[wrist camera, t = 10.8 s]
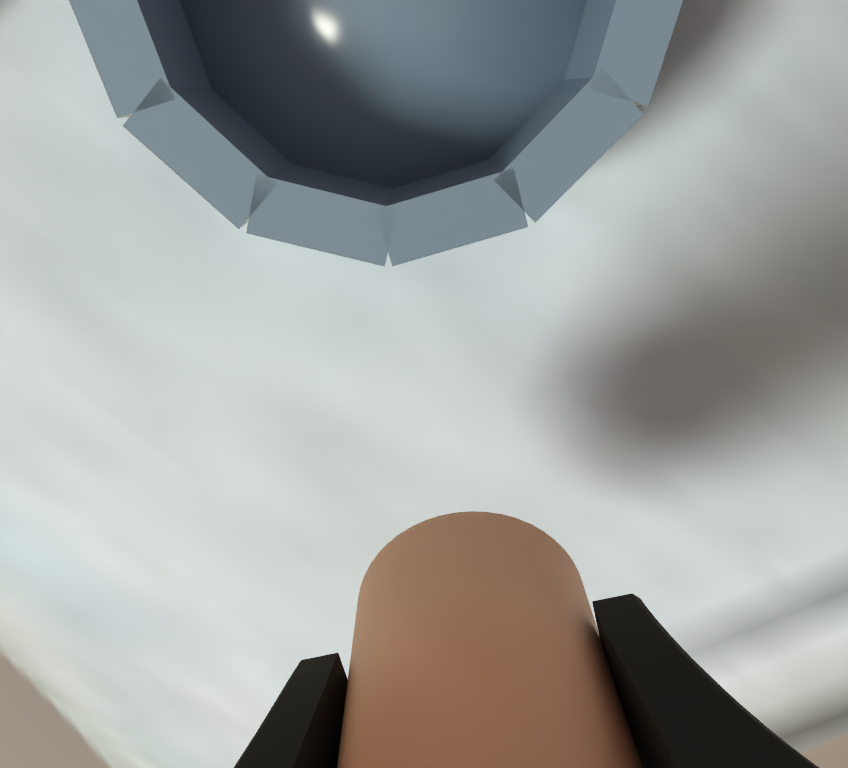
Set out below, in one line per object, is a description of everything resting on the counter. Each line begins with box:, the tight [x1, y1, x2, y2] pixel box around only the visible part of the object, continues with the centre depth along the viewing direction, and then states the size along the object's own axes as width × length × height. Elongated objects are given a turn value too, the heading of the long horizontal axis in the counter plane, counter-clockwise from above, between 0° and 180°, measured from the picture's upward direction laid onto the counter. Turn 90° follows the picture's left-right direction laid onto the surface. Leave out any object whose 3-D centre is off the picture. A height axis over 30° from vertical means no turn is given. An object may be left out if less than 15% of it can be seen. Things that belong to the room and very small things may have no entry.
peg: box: [337, 512, 642, 768], centre depth 11 cm, size 4×4×6 cm
